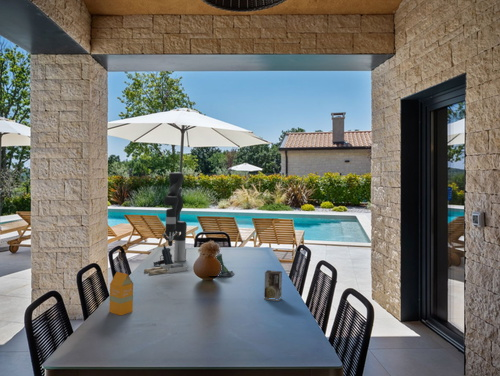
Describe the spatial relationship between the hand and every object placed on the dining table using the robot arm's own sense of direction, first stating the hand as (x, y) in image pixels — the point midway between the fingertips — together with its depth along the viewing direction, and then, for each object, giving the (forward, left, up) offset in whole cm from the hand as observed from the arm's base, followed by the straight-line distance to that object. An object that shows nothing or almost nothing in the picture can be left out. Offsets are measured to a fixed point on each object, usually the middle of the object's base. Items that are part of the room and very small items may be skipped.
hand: (170, 245), depth 281 cm
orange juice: (+62, +64, -19) cm, 91 cm away
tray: (-3, 0, -19) cm, 19 cm away
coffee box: (-17, +94, -19) cm, 97 cm away
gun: (-4, -17, -19) cm, 26 cm away
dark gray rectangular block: (-4, 0, -19) cm, 19 cm away
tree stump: (-25, +31, -19) cm, 44 cm away
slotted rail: (+11, 0, -19) cm, 22 cm away
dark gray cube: (-8, 0, -19) cm, 20 cm away
